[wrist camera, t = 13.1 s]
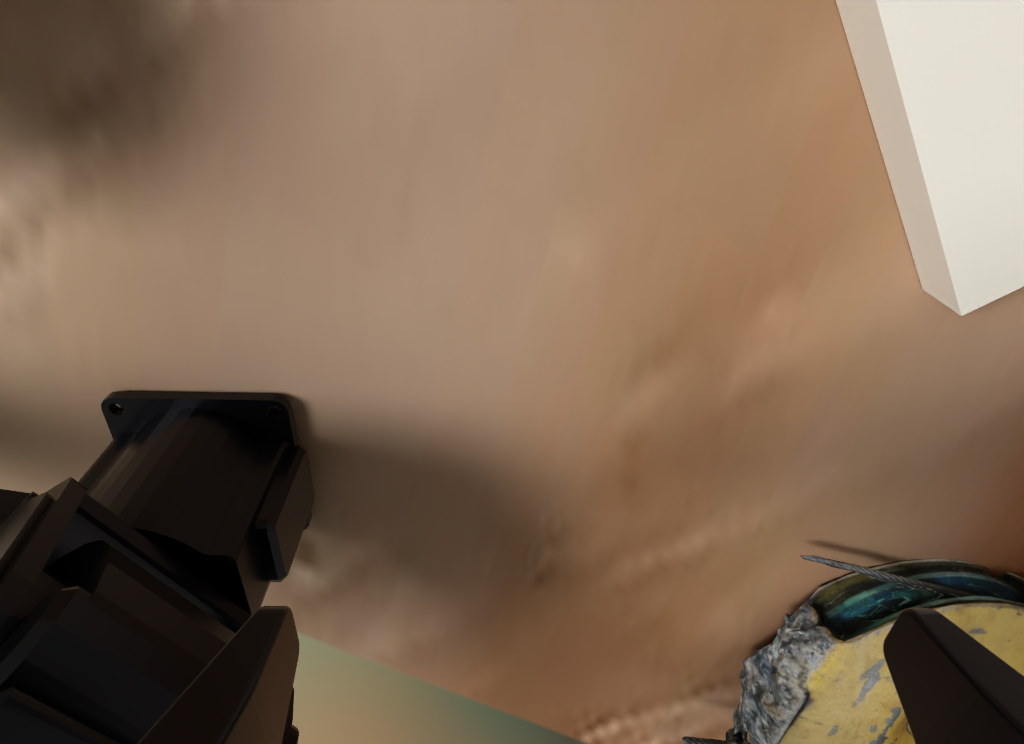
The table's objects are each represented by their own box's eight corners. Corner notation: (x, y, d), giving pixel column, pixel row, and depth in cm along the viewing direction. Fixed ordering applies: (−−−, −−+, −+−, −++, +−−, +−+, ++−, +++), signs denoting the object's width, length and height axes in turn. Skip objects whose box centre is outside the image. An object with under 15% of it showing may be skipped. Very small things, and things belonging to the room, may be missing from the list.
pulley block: (1188, 885, 33) (697, 821, 28) (1087, 778, 39) (659, 706, 33) (1401, 707, 28) (855, 585, 23) (1252, 612, 34) (780, 494, 28)
